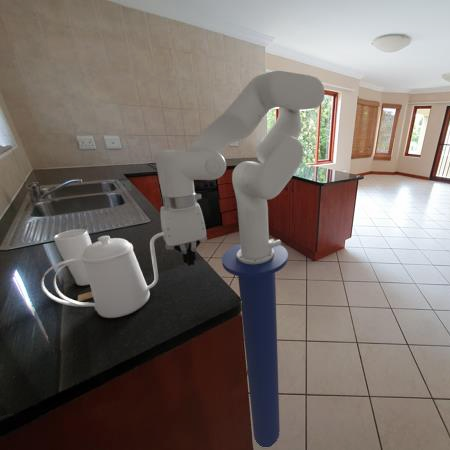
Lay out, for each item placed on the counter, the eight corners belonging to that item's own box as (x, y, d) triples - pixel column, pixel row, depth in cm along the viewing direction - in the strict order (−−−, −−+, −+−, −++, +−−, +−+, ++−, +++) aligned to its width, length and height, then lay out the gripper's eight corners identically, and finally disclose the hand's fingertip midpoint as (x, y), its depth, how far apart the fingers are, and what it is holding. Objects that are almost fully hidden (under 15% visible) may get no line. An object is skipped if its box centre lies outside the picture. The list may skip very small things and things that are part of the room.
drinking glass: (71, 281, 68) (51, 233, 62) (101, 271, 73) (85, 226, 67) (75, 291, 64) (54, 241, 58) (106, 280, 69) (89, 233, 63)
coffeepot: (185, 296, 63) (172, 231, 56) (56, 341, 49) (17, 263, 42) (177, 276, 71) (164, 218, 64) (64, 311, 57) (32, 241, 50)
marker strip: (116, 285, 67) (115, 284, 67) (116, 290, 65) (116, 289, 64) (78, 296, 62) (78, 295, 62) (77, 302, 60) (77, 301, 60)
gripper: (205, 194, 67) (211, 251, 74) (143, 201, 59) (157, 265, 65) (214, 200, 62) (220, 261, 69) (148, 209, 53) (163, 278, 60)
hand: (190, 263), depth 67 cm, fingers closed
